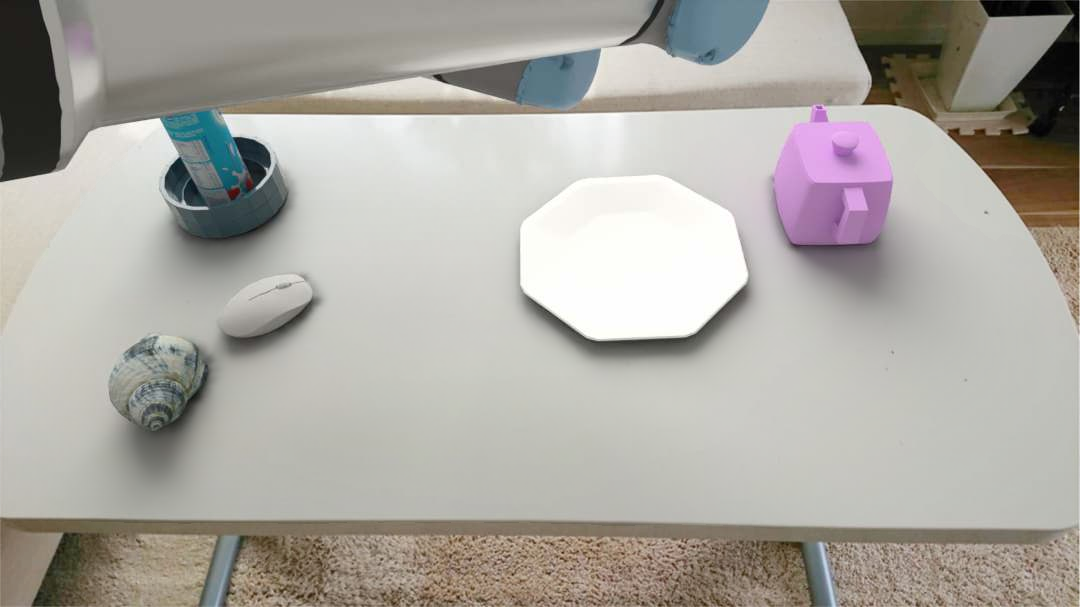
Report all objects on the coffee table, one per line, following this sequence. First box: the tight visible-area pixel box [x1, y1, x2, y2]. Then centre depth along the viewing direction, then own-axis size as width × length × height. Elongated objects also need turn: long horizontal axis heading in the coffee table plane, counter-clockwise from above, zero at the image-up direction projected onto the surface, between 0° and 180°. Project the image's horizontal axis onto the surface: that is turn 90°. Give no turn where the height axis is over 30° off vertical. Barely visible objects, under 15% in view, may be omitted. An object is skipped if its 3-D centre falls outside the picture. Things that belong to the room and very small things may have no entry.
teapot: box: [773, 104, 894, 246], centre depth 80 cm, size 18×10×10 cm, turn 179°
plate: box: [519, 174, 750, 343], centre depth 81 cm, size 24×24×2 cm
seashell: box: [107, 332, 209, 432], centre depth 71 cm, size 6×8×12 cm
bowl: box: [158, 133, 289, 239], centre depth 88 cm, size 13×13×5 cm
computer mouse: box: [216, 273, 314, 339], centre depth 78 cm, size 6×10×3 cm, turn 132°
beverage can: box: [159, 108, 255, 206], centre depth 84 cm, size 6×6×15 cm
